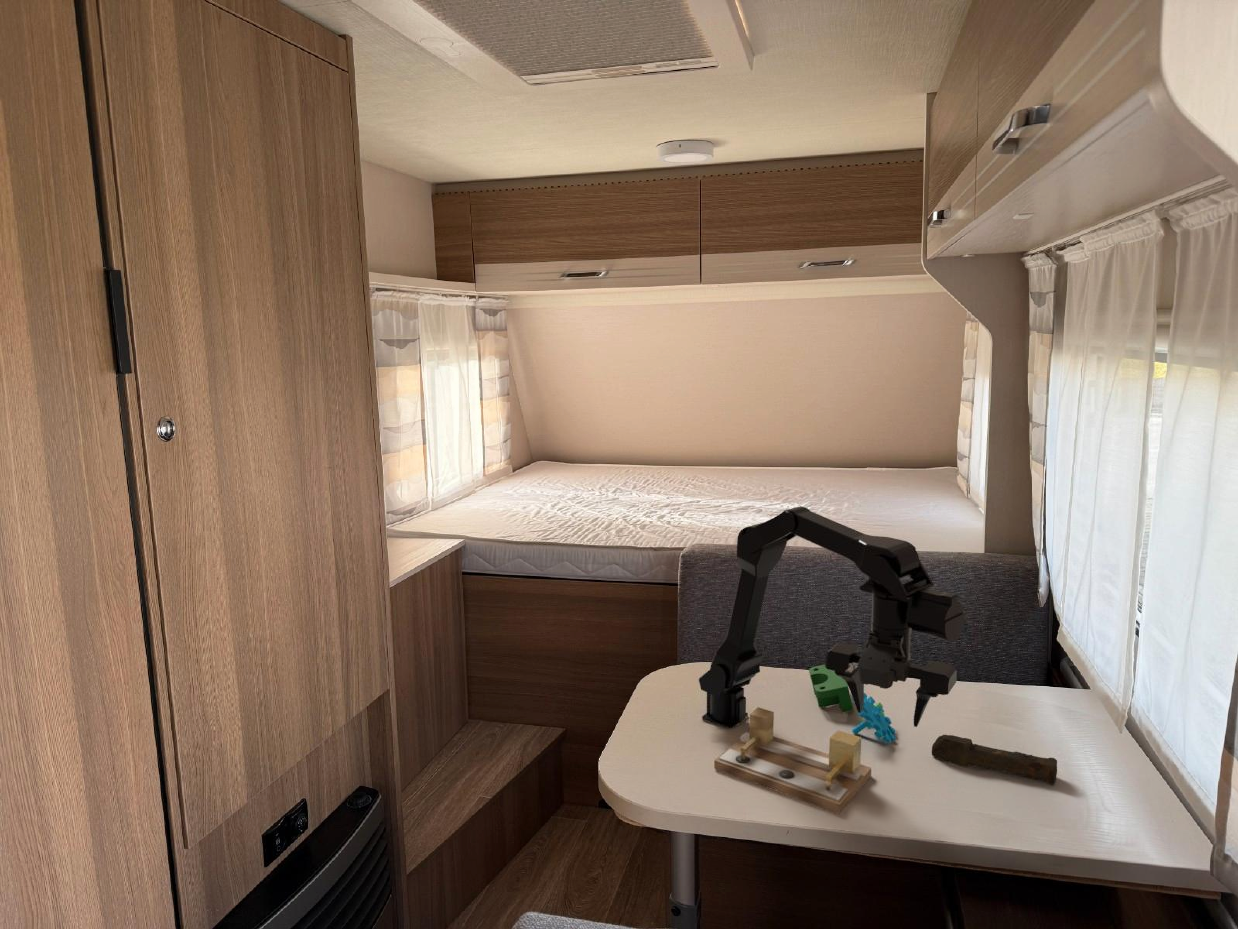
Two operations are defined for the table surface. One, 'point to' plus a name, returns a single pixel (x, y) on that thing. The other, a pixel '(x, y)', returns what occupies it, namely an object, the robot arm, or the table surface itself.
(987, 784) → the table surface
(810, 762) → the wooden base with blocks
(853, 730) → the gear
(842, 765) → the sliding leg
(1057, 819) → the table surface
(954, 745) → the hand tool
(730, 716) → the robot arm
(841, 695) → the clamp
